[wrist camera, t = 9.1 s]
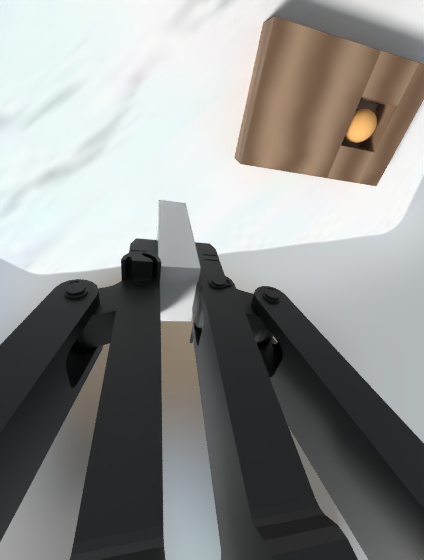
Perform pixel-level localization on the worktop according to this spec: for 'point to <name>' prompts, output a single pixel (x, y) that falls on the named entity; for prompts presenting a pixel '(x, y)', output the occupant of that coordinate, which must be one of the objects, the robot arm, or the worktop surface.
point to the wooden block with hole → (324, 104)
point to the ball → (361, 125)
